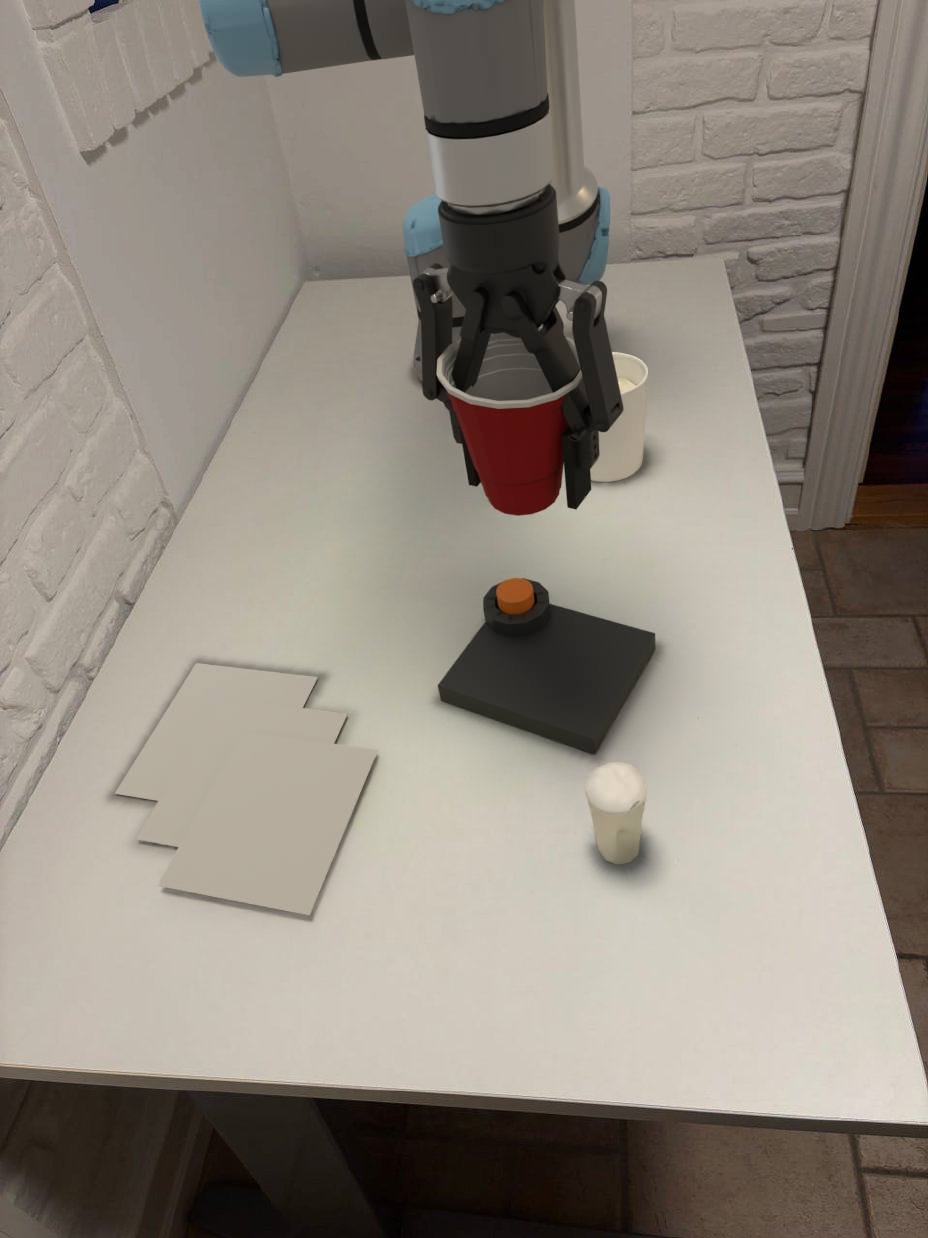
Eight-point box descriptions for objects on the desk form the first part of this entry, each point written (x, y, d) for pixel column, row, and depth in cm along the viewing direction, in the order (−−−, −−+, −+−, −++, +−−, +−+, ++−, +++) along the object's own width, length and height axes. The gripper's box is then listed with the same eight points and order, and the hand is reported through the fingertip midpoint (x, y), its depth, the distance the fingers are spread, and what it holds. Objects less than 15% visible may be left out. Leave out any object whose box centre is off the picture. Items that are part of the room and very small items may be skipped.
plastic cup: (586, 539, 71) (577, 397, 63) (446, 535, 73) (419, 399, 65) (602, 455, 78) (596, 318, 70) (474, 454, 81) (453, 322, 73)
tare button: (508, 587, 96) (507, 574, 95) (540, 596, 94) (539, 582, 93) (491, 610, 94) (489, 597, 93) (524, 619, 92) (522, 606, 91)
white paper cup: (610, 496, 110) (606, 406, 102) (550, 466, 116) (542, 379, 108) (666, 457, 114) (666, 367, 106) (605, 430, 120) (601, 343, 112)
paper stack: (65, 872, 82) (62, 867, 82) (196, 663, 99) (194, 658, 99) (311, 919, 76) (309, 915, 75) (407, 687, 93) (405, 682, 92)
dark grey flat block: (506, 600, 100) (502, 572, 97) (658, 644, 92) (658, 614, 90) (434, 698, 91) (427, 670, 89) (594, 755, 84) (592, 725, 81)
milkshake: (613, 890, 74) (609, 815, 67) (580, 838, 78) (572, 762, 71) (664, 865, 75) (664, 789, 68) (628, 815, 79) (626, 738, 72)
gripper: (677, 177, 57) (673, 486, 73) (391, 161, 67) (441, 438, 82) (626, 227, 53) (633, 545, 68) (328, 203, 62) (394, 487, 78)
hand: (529, 486), depth 75 cm, fingers closed on plastic cup, 8 cm apart
